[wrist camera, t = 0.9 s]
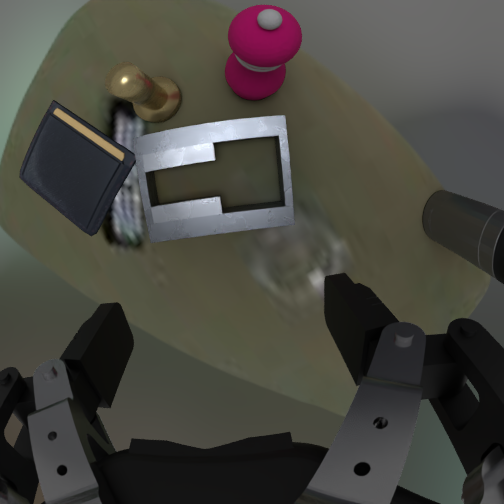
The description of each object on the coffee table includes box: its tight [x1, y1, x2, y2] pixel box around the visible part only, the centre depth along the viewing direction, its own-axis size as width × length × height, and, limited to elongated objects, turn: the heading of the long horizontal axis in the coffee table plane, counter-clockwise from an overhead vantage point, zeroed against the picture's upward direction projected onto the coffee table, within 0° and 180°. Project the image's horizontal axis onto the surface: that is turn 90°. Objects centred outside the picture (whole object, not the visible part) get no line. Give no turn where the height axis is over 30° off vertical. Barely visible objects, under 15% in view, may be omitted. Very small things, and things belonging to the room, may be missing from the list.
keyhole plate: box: [133, 115, 295, 243], centre depth 35 cm, size 19×14×4 cm
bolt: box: [105, 62, 182, 123], centre depth 26 cm, size 6×6×14 cm
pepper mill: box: [225, 5, 302, 100], centre depth 23 cm, size 7×7×20 cm
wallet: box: [20, 100, 136, 236], centre depth 34 cm, size 20×2×15 cm
